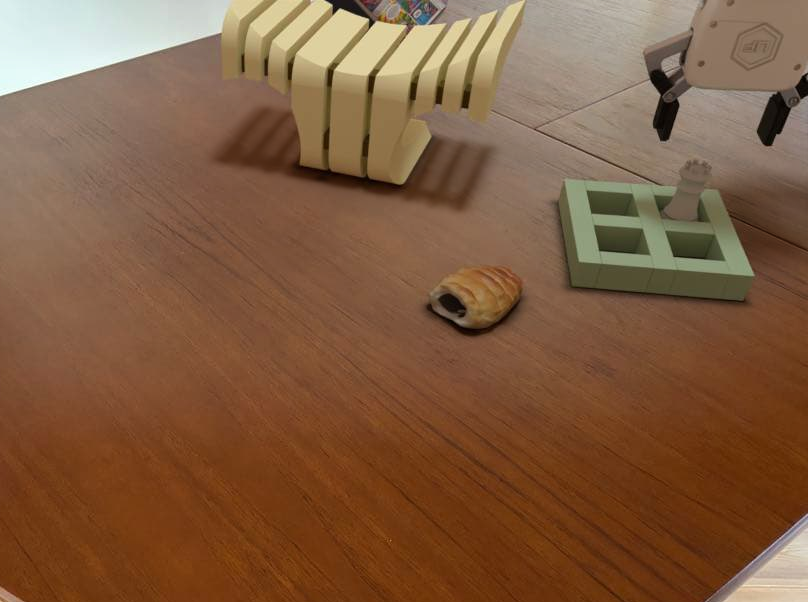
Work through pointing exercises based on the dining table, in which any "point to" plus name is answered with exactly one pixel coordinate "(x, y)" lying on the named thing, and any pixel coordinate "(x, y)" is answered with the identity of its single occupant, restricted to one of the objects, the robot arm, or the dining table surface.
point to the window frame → (650, 242)
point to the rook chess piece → (688, 192)
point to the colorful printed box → (394, 11)
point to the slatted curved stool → (366, 77)
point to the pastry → (476, 295)
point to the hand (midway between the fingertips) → (712, 137)
